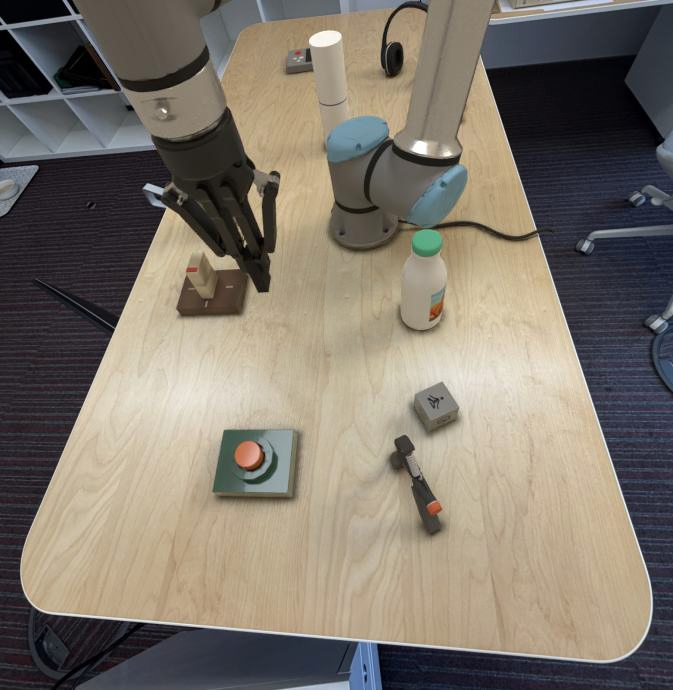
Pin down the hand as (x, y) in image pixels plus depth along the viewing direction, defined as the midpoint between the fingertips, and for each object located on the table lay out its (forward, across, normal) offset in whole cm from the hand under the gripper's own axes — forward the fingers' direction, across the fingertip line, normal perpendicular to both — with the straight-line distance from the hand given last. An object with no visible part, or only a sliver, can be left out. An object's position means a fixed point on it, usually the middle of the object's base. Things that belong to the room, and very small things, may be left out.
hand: (264, 284), depth 57 cm
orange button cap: (+19, -5, -19) cm, 27 cm away
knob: (+21, -20, +17) cm, 34 cm away
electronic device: (+25, -5, +112) cm, 115 cm away
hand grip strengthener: (+24, +20, -23) cm, 38 cm away
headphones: (+25, +26, +96) cm, 103 cm away
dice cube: (+24, +24, -10) cm, 35 cm away
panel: (+24, -20, +17) cm, 36 cm away
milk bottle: (+24, +23, +10) cm, 35 cm away
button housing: (+24, -6, -19) cm, 31 cm away
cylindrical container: (+25, +5, +66) cm, 71 cm away
